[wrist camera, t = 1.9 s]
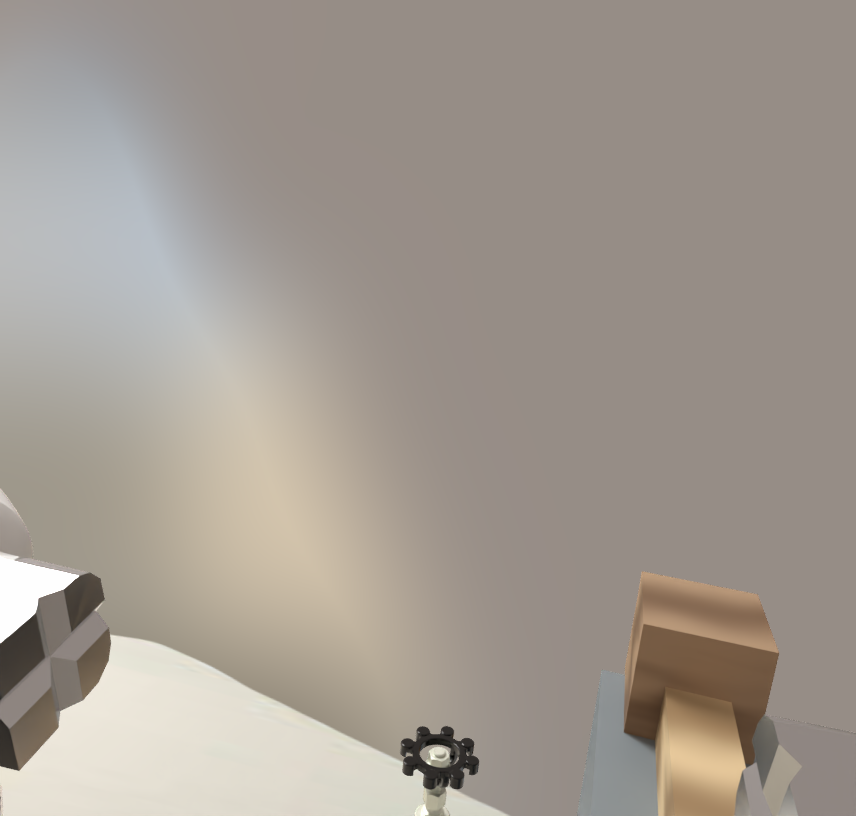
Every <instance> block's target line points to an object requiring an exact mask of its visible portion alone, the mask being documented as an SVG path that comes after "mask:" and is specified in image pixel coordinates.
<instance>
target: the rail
mask: <svg viewBox="0 0 856 816" xmlns="http://www.w3.org/2000/svg"><path fill="white" fill-rule="evenodd" d="M778 656H779V651H778V649H777V646H776V643H775V640H774V638H773V635H772V632H771V629H770V627H769V624H768V621H767V618H766V616H765V613H764V610H763V608H762V605H761V602H760V599H759V597H758V595H757V594H752V593H748V592H742V591H738V590H733V589H727V588H723V587H718V586H713V585H708V584H702V583H698V582H692V581H688V580H682V579H678V578H673V577H668V576H663V575H657V574H652V573H647V572H642V575H641V580H640V586H639V591H638V598H637V603H636V609H635V614H634V620H633V625H632V631H631V637H630V642H629V648H628V653H627V659H626V665H625V693H624V733H628V734H632V735H636V736H640V737H644V738H647V739H651V740H655V752H656V775H657V798H658V816H734V813H735V802H736V793H737V789H738V785H739V782H740V778H741V774H742V771H743V770H744V769H746V766H745V763H746V764H750V765H753V763H754V759H755V752H754V748H753V743H752V739H753V736H754V733H755V730H756V727H757V724H758V722H759V721H760V720H761V718H762V717H763V716H764V714H765V712H766V707H767V703H768V699H769V695H770V690H771V686H772V682H773V677H774V673H775V668H776V664H777V660H778Z"/></svg>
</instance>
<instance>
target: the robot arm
mask: <svg viewBox="0 0 856 816" xmlns="http://www.w3.org/2000/svg"><path fill="white" fill-rule="evenodd" d="M104 599H105V598H104V593H103V589H102V584H101V579H100V578H98V577H97V576H95V575H93V574H92V573H89V572H85V571H81V570H77V569H73V568H68V567H64V566H60V565H56V564H52V563H47V562H43V561H39V560H35V559H33V548H32V541H31V538H30V535H29V532H28V530H27V528H26V526H25V524H24V522H23V521H22V519H21V517H20V516H19V514H18V512H17V511H16V509H15V508H14V506H13V504H12V503H11V501H10V500H9V499H8V498H7V496H6V495H5V493H4V492H3V491H2V489H1V488H0V766H1V767H6V768H10V769H14V770H18V771H19V770H20V769H21V768H22V767H23V766H24V765H25V764H26V763H27V762H28V761H29V759H30V758H31V757H32V756H33V755H34V754H35V753H36V752H37V751H38V750H39V748H40V747H41V746H42V745H43V744H44V743H45V742H46V741H47V740H48V739H49V737H50V736H51V735H52V734H53V733H54V732H55V731H56V730H57V729H58V727H59V717H60V711H61V710H63V709H65V708H68V707H70V706H72V705H74V704H76V703H78V702H80V701H82V700H84V699H85V697H86V696H87V695H88V694H89V693H90V692H91V690H92V689H93V688H94V687H95V686H96V685H97V683H98V682H99V680H100V678H101V676H102V673H103V671H104V669H105V667H106V665H107V663H108V661H109V653H110V646H111V639H110V632H109V627H108V626H107V624H106V623H105V622H104V620H103V619H102V618H101V616H100V615H99V614H98V612H97V610H98V608H99V607H100V606H101V604H102V603H103V601H104ZM752 743H753V748H754V752H755V757H756V763H754V764H753V765H751V766H749V767H748V768H746V769H744V770H743V771H742V774H741V778H740V782H739V785H738V789H737V793H736V802H735V813H734V816H856V733H853V732H849V731H843V730H839V729H834V728H829V727H824V726H819V725H815V724H810V723H805V722H800V721H795V720H790V719H785V718H780V717H775V716H770V715H765V714H764V716H763V717H762V718H761V720H760V721H759V722H758V724H757V727H756V730H755V733H754V736H753V739H752ZM0 816H3V802H2V786H0Z"/></svg>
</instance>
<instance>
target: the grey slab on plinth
mask: <svg viewBox="0 0 856 816" xmlns="http://www.w3.org/2000/svg"><path fill="white" fill-rule="evenodd" d="M624 693H625V675H622V674H618V673H614V672H610V671H605V670H602V672H601V678H600V684H599V690H598V695H597V701H596V708H595V713H594V719H593V725H592V731H591V736H590V742H589V748H588V754H587V760H586V766H585V772H584V778H583V784H582V789H581V795H580V801H579V808H578V813H577V816H658V798H657V775H656V752H655V740H651V739H647V738H644V737H640V736H636V735H632V734H628V733H624ZM765 715H766V714H765ZM754 763H756V757H755V759H754ZM754 763H753V764H754ZM745 766H746V768H748V767H749V766H751V765H750V764H746V763H745Z"/></svg>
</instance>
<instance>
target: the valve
mask: <svg viewBox="0 0 856 816" xmlns="http://www.w3.org/2000/svg"><path fill="white" fill-rule="evenodd" d="M453 736H454V730H453V729H452V728H451V727H448V726H445V727H443V728H442V729H441V733H440V734H430V731H429V729H428V728H426V727H423V726H422V727H419V728H418V729H417V732H416V742H414V741H413V740H411V739H408V738H407V739H404V740H402V741H401V747H400V753H401V755H402V756H404V757H406V753H407V752H408V753H411V754H412V756H408V757H406V758H405V759H404V760H403V769H402V771H403V773H404V774H405V775H407V776H413V771H414V770H415V769H418V770H419V771H420V772H422V773H423V774H424V778H423V786H424V794H423V800H424V803H423V804H421V805H419V806H418V807H417V809H416V811H415V816H450V814H449V812H448V810H447V809H446V808H445V807H444V805H445V801H446V789H445V788H446V787H447V786H448V784H449V779H450V781H451V782H450V786H451V787H452V788H454V789H460V788H462V787H463V783H464V773H463V769H464V768H467V769H469V770H470V772H469V775H475V774H476V773H477V772H478V766H479V760H478V758H477V757H475V756H471V755H472V754H473V749H474V742H473V740H472V739H469V738H464V739H462V740H461V741H456V740H455V739H453ZM437 744H438V745H444V746H447V747H449V748H451V752H450V756H449V753H448V751H447V750H446V749H444V748H441V747H435V748H433V749H431V750H430V751H429V754H428V758H427V761H426V762H424V761H423V760H422V759H421V757H420V755H419V754H420V751H421V750H422V749H423V748H425V747H426V746H429V745H437ZM466 752H467V753H468V755H469V756H467V755H466ZM457 757H459V760H458V762H457V763H456V764H454V763H455V761H456V759H457ZM453 764H454V765H453Z"/></svg>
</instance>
